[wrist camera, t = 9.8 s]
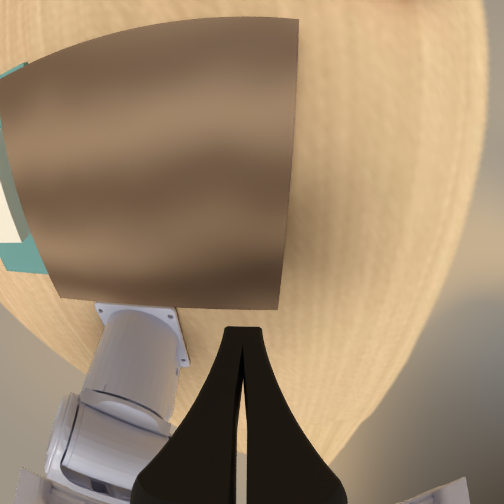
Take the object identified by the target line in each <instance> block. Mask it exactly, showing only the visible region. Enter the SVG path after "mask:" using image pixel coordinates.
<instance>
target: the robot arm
mask: <svg viewBox="0 0 504 504" xmlns="http://www.w3.org/2000/svg"><path fill="white" fill-rule="evenodd" d="M94 306H95V308H96V310H97V312H98V314H99V316H100V318H101V320H102V322H103V324H104V326H105V328H104V331H103V333H102V336H101V338H100V341H99V343H98V346H97V348H96V351H95V354H94V356H93V359H92V362H91V365H90V367H89V370H88V373H87V376H86V379H85V382H84V385H83V388H82V391H81V393H80V394H79V395H77V394H74V393H70V395H65V396H64V397H63V398H62V401H61V403H60V406H59V408H58V411H57V414H56V417H55V420H54V423H53V426H52V430H51V433H50V437H49V441H48V446H47V454H46V458H45V467H44V470H45V472H46V477H47V478H46V477H42V476H40V475H38V474H36V473H34V472H32V471H30V470H28V469H26V468H24V467H21V470H20V475H19V480H18V486H17V491H16V496H15V503H14V504H236V456H237V426H238V417H239V409H240V401H241V392H242V384H243V383H244V395H245V408H246V419H247V504H347V503H348V501H347V496H346V492H345V490H344V487H343V485H342V483H341V481H340V480H339V478H338V477H337V476H336V475H335V474H334V473H333V472H332V470H331V469H330V468H329V467H328V466H327V464H326V463H325V462H324V461H323V459H322V458H321V457H320V455H319V454H318V453H317V452H316V450H315V449H314V447H313V446H312V444H311V443H310V441H309V440H308V438H307V437H306V435H305V434H304V433H303V431H302V429H301V428H300V426H299V424H298V423H297V421H296V419H295V418H294V416H293V414H292V412H291V410H290V408H289V406H288V404H287V402H286V400H285V398H284V396H283V394H282V392H281V390H280V388H279V385H278V383H277V380H276V378H275V375H274V373H273V370H272V367H271V365H270V362H269V359H268V355H267V352H266V348H265V345H264V340H263V335H262V329H261V328H260V327H234V326H227V327H226V328H225V329H224V334H223V338H222V341H221V345H220V348H219V350H218V353H217V356H216V359H215V361H214V363H213V366H212V368H211V370H210V373H209V375H208V377H207V379H206V381H205V383H204V385H203V387H202V389H201V391H200V393H199V395H198V397H197V398H196V400H195V402H194V404H193V405H192V407H191V409H190V410H189V412H188V413H187V415H186V417H185V418H184V420H183V421H182V422H181V424H180V425H179V427H178V428H177V430H176V431H175V432H174V434H171V433H170V429H171V423H168V421H169V419H170V418H171V416H172V414H173V410H174V404H175V397H176V391H177V385H178V379H179V373H180V367H189V366H190V361H189V357H188V354H187V350H186V347H185V343H184V340H183V336H182V332H181V329H180V325H179V321H178V317H177V313H176V310H175V308H174V307H162V306H146V305H132V304H119V303H108V302H97V301H96V302H95V304H94ZM396 504H470V500H469V494H468V488H467V483H466V478H465V477H463V478H460V479H458V480H455V481H453V482H451V483H449V484H446V485H442V486H440V487H437V488H435V489H432V490H429V491H427V492H424V493H422V494H419V495H417V496H416V497H414V498H411V499H408V500H405V501H402V502H400V503H396Z"/></svg>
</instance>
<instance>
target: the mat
mask: <svg viewBox="0 0 504 504" xmlns="http://www.w3.org/2000/svg"><path fill="white" fill-rule="evenodd" d="M26 65H27V62H26V63H23V64H21V65H19V66H17V67H15V68H13V69H11V70H9V71H7V72H5V73H4V74H2V75H0V79H1V78H2V77H4V76H6V75H8V74H10V73H12V72H14V71H16V70H18V69H20V68H22V67H24V66H26ZM1 127H2V125H1V118H0V128H1ZM0 258H1V260H2V262H3V264H4V266H5V268H6V270H7V271H15V272H27V273H39V274H48V272H47V270H46V268H45V265H44V263H43V261H42V259H41V256H40V254H39V252H38V249H37V247H36V245H35V242H34V240H33V237H32V234H31V233H30V234H29V235H28V236H27V237H26V238H25V240H24V241H23V242H22V243H0Z"/></svg>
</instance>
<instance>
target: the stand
mask: <svg viewBox="0 0 504 504" xmlns="http://www.w3.org/2000/svg"><path fill="white" fill-rule="evenodd" d="M298 32H299V19H288V18H273V17H218V18H203V19H192V20H183V21H175V22H168V23H161V24H155V25H150V26H144V27H139V28H135V29H130V30H126V31H121V32H117V33H113V34H110V35H106V36H102V37H99V38H96V39H92V40H89V41H86V42H83V43H80V44H77V45H74V46H71V47H68V48H66V49H63V50H60V51H58V52H55V53H53V54H50V55H48V56H46V57H43V58H41V59H39V60H36V61H34V62H32V63H30V64H28V65H26V66H24V67H22V68H20V69H18V70H16V71H14V72H12V73H10V74H8V75H6V76H4V77H2V78H1V79H0V118H1V125H2V131H3V136H4V142H5V147H6V151H7V156H8V160H9V164H10V168H11V172H12V176H13V180H14V184H15V187H16V190H17V194H18V197H19V200H20V203H21V206H22V209H23V212H24V215H25V218H26V221H27V224H28V227H29V229H30V232H31V234H32V237H33V240H34V242H35V245H36V247H37V249H38V252H39V254H40V256H41V259H42V261H43V263H44V265H45V268H46V270H47V272H48V274H49V276H50V278H51V280H52V282H53V285H54V287H55V289H56V291H57V292H58V294H59V296H60V298H68V299H77V300H87V301H97V302H108V303H119V304H132V305H146V306H162V307H180V308H203V309H240V310H278V303H279V294H280V285H281V276H282V266H283V256H284V246H285V236H286V225H287V214H288V203H289V191H290V178H291V165H292V151H293V137H294V121H295V104H296V84H297V61H298Z"/></svg>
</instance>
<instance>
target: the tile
mask: <svg viewBox="0 0 504 504" xmlns="http://www.w3.org/2000/svg"><path fill="white" fill-rule="evenodd" d="M30 233H31V232H30V229H29V227H28V224H27V221H26V218H25V215H24V212H23V209H22V206H21V203H20V200H19V197H18V194H17V190H16V187H15V184H14V180H13V176H12V172H11V168H10V164H9V160H8V156H7V151H6V147H5V142H4V136H3V131H2V127H1V128H0V243H22V242H23V241H24V240H25V238H26V237H27V236H28V235H29V234H30Z"/></svg>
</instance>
